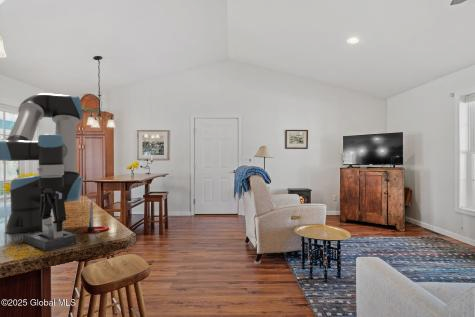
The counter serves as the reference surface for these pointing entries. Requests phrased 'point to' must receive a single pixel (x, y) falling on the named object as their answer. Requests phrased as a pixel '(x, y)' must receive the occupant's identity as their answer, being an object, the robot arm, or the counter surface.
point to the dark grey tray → (45, 244)
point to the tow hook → (91, 228)
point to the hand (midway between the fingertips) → (52, 238)
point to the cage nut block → (48, 231)
